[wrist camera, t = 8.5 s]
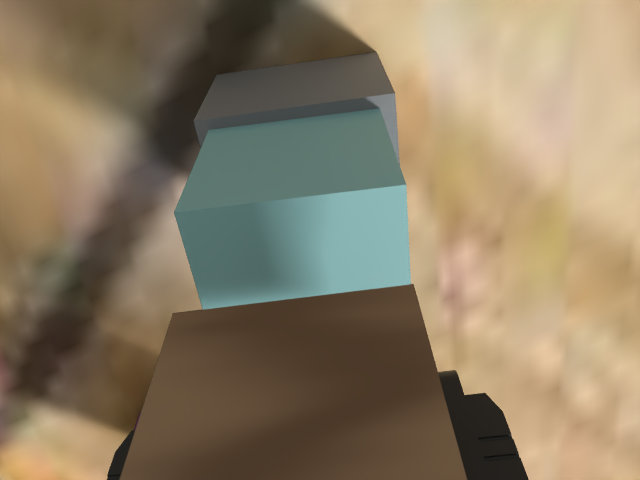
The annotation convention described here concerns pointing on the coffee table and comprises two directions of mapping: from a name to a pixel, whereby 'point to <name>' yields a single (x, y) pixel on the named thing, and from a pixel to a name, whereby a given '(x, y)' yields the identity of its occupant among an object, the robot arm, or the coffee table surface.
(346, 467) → the walnut block
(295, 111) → the tower base
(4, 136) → the coffee table surface
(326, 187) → the tower mid
